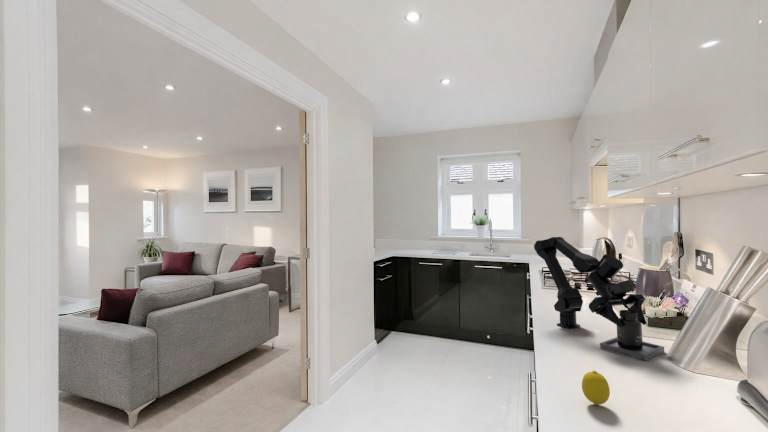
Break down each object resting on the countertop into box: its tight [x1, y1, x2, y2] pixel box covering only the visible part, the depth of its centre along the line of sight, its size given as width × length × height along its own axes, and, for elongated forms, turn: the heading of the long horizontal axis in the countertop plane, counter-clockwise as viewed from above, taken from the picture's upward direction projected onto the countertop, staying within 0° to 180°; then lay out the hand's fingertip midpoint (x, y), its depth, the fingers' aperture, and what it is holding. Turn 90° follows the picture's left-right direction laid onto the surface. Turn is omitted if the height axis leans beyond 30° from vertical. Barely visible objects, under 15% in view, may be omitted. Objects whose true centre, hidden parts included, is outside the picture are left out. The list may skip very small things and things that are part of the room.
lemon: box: [581, 370, 611, 406], centre depth 78 cm, size 6×6×8 cm
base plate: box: [599, 336, 665, 362], centre depth 110 cm, size 13×13×2 cm
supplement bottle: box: [616, 309, 644, 351], centre depth 110 cm, size 7×7×12 cm
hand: (633, 325), depth 109 cm, fingers open, 9 cm apart
